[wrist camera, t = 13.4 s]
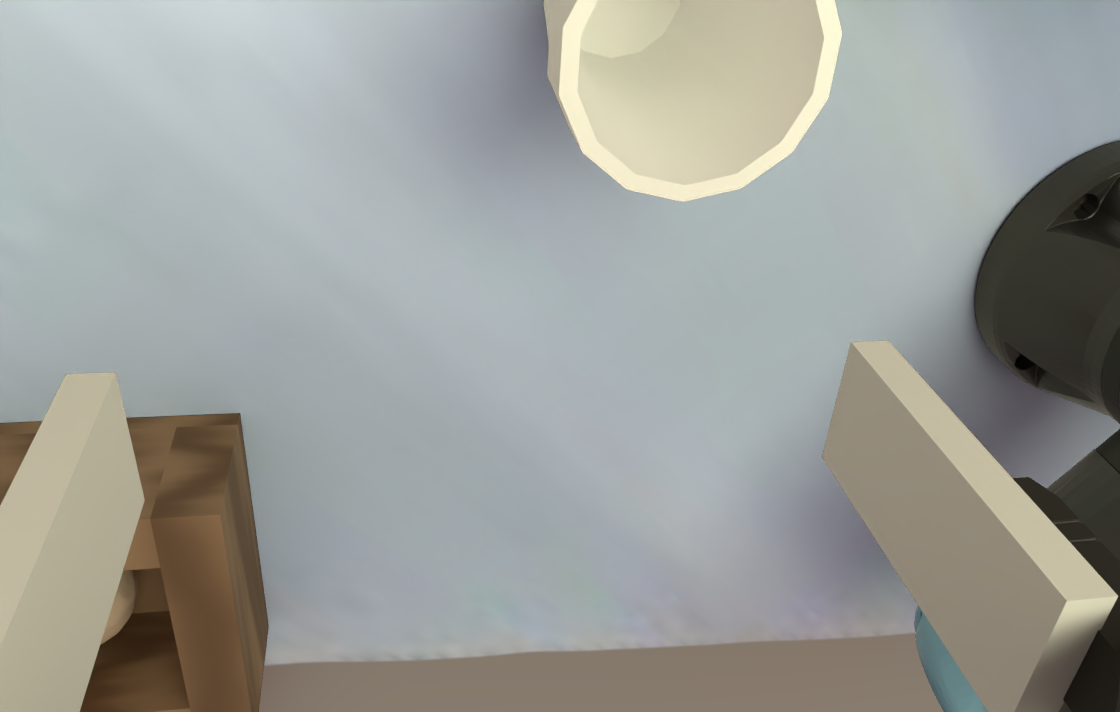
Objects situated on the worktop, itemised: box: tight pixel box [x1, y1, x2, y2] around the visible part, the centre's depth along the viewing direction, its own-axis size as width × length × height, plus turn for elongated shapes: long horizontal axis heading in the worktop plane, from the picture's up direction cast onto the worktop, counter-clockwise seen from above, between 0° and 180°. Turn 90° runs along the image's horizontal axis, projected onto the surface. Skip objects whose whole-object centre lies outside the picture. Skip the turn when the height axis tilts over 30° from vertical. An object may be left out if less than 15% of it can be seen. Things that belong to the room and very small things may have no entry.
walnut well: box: [0, 413, 269, 712], centre depth 49 cm, size 16×16×8 cm
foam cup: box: [544, 0, 842, 202], centre depth 36 cm, size 10×9×13 cm
